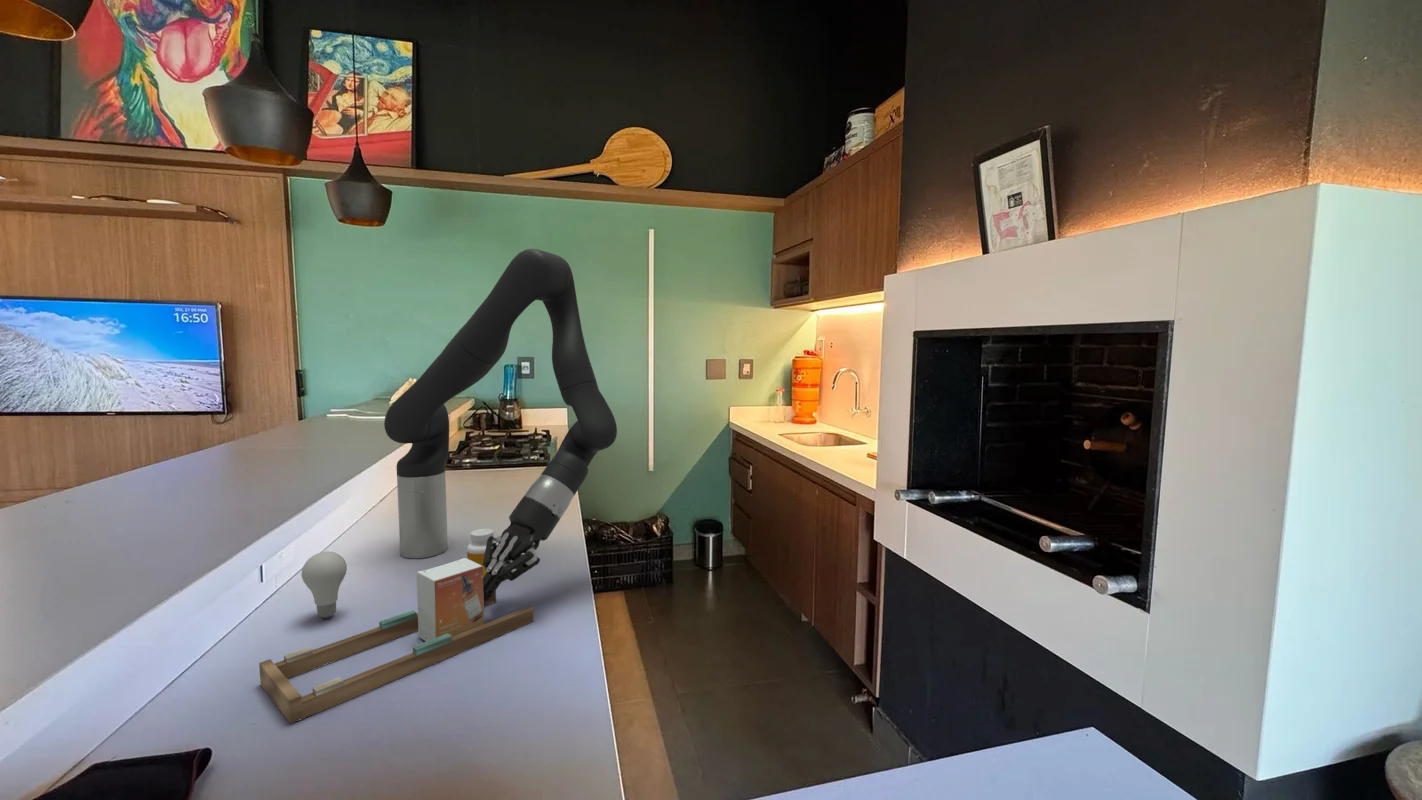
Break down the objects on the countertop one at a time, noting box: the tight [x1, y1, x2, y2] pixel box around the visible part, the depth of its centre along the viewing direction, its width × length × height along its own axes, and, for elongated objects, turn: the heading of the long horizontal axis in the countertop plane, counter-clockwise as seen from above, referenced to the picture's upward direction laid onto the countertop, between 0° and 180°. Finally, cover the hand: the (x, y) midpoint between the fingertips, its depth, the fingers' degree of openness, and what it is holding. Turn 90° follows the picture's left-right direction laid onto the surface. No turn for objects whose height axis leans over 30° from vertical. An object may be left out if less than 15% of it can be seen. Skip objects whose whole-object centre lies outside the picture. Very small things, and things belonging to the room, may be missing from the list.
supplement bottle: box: [466, 528, 494, 577], centre depth 109 cm, size 5×5×10 cm
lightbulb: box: [301, 550, 348, 619], centre depth 94 cm, size 6×6×11 cm
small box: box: [416, 557, 485, 642], centre depth 89 cm, size 8×6×10 cm
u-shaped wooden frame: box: [258, 589, 534, 724], centre depth 85 cm, size 12×33×3 cm, turn 141°
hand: (479, 597), depth 93 cm, fingers closed
